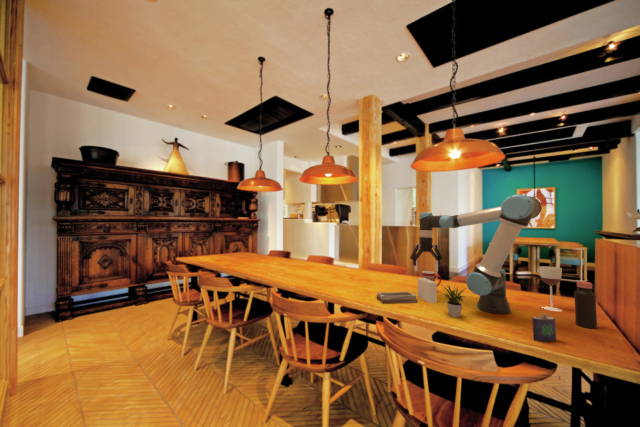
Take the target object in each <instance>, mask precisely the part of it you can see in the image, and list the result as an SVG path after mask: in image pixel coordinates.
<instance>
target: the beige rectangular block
mask: <svg viewBox="0 0 640 427" xmlns="http://www.w3.org/2000/svg"><path fill="white" fill-rule="evenodd" d="M436 286H437V282H436V281H435V282H434V281H431V280H429V279H426V278H422V277H417V297H418V298H419V299H421V300H423V301H425V302H426V303H429V304H436V303H438V299H437V298H438V297H437V295H438V294H437V288H438V287H436Z"/></svg>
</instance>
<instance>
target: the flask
mask: <svg viewBox="0 0 640 427" xmlns="http://www.w3.org/2000/svg"><path fill="white" fill-rule="evenodd" d="M541 314H542V315H541V316H540V315H539V316H537V315H535V316H533V317H532V318H531V319H532V332H533V341H535V342H538V343H550V342H556V341H557V332H556V318H555V317H553V316H548V315H547V314H546V313H543V312H542V313H541Z"/></svg>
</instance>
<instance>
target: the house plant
mask: <svg viewBox="0 0 640 427" xmlns="http://www.w3.org/2000/svg"><path fill="white" fill-rule="evenodd" d="M456 284H457V283H455V284H454V287H453V290H452V289H451V286H450V285H449V284H446V287H447V288H446V287H444V285H442V284H441V283H440V284H439V286H440V285H441V286H442V287H441V289H442V290H443V291H444V292H445V293H443V294H442V296H444V298H445V300H448V301H446V307H447V312H448V315H449V316H450V317H452V318H461V313H462V308H463V304H462V303H464V298H465V297H467V296H464V295H461V294H462V293H463V292H464V291H465V290H466V289H468V287H466V288H463V289H462V290H460V292H459V286H457V287H456ZM455 287H456V288H455ZM460 301H461V302H460Z"/></svg>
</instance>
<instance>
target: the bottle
mask: <svg viewBox="0 0 640 427" xmlns="http://www.w3.org/2000/svg"><path fill="white" fill-rule="evenodd" d="M576 287H577V290H575V291H574V293H573V294H574V312H575V314H574V315H575V324H576V325H577V326H579V327H581V328H584V329H592V330H594V329H595V330H596V329H598V321H597V320H598V319H597V300H596V299H597V296H596V294H595V293H594V292H593V291H592V289H593V283H592V282H587V281H576Z"/></svg>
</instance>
